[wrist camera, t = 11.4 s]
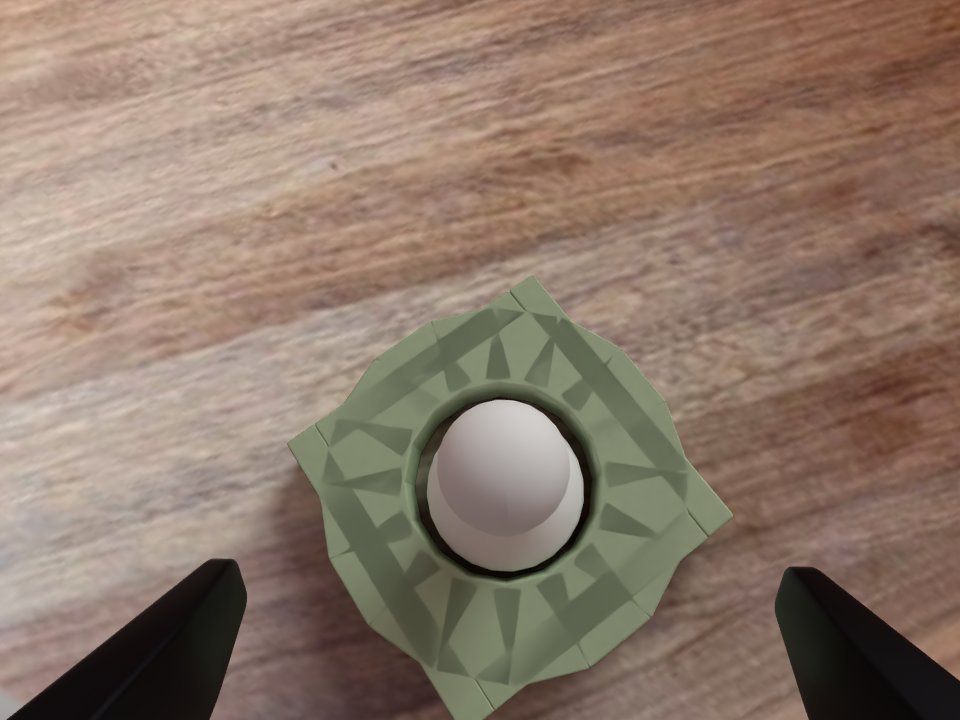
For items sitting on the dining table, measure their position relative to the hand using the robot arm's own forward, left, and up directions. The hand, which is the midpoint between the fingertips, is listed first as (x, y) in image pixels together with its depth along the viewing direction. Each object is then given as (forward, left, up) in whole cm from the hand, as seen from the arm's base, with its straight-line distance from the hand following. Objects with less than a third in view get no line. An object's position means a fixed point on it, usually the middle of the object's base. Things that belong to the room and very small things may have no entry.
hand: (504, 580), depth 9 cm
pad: (+1, +2, -10) cm, 10 cm away
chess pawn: (+1, +2, -10) cm, 10 cm away
